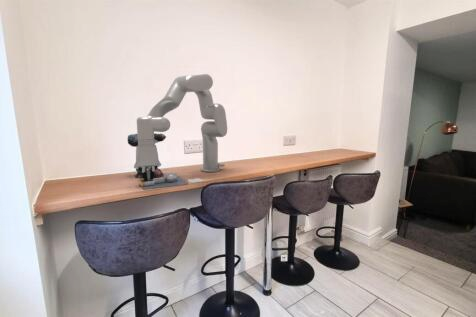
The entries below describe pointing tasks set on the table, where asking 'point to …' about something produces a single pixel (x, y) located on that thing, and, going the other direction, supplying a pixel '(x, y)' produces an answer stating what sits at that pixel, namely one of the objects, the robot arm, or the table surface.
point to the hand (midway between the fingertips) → (148, 179)
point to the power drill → (134, 142)
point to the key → (148, 173)
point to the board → (166, 184)
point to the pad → (195, 180)
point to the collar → (159, 179)
